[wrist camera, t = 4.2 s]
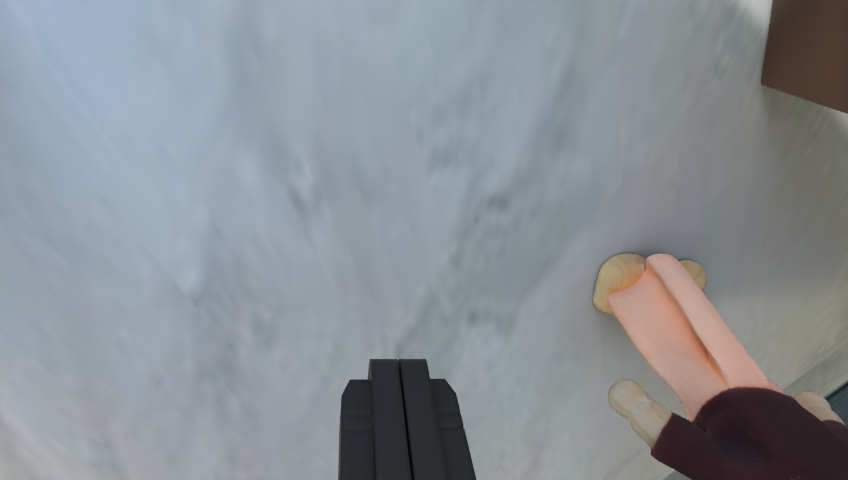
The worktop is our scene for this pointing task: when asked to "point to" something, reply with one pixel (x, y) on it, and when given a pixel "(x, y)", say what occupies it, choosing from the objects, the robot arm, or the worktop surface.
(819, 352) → the worktop surface
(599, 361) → the worktop surface
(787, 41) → the walnut block
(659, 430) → the grandmother figurine
